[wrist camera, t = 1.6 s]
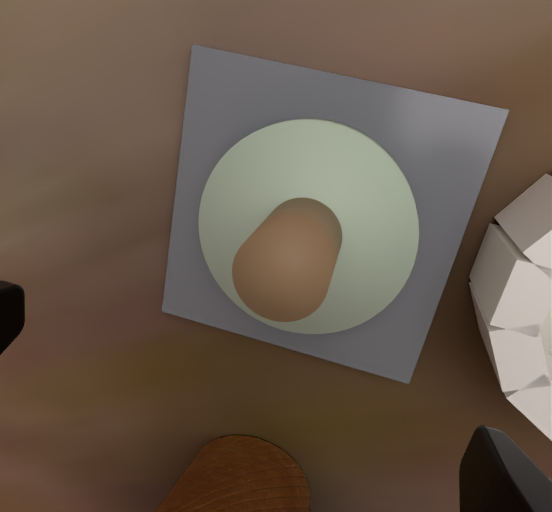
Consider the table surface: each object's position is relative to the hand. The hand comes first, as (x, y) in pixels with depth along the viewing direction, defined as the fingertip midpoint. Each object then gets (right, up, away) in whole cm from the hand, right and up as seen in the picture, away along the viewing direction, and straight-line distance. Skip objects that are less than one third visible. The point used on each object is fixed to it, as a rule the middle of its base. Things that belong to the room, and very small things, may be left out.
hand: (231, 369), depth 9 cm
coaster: (+2, +4, +10) cm, 11 cm away
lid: (+2, +3, +9) cm, 10 cm away
